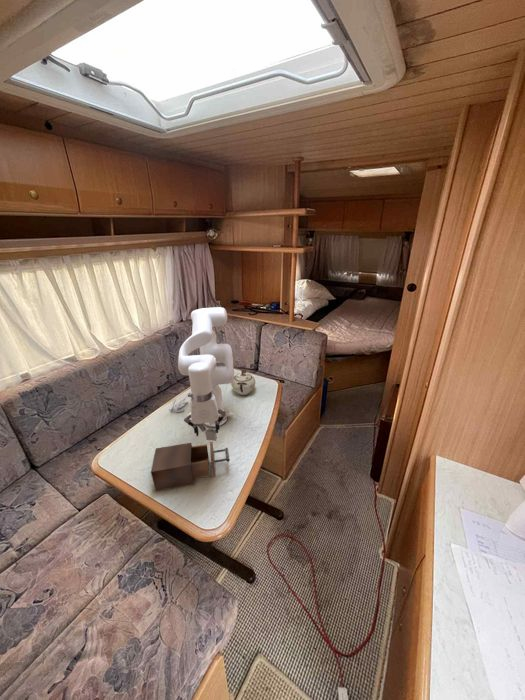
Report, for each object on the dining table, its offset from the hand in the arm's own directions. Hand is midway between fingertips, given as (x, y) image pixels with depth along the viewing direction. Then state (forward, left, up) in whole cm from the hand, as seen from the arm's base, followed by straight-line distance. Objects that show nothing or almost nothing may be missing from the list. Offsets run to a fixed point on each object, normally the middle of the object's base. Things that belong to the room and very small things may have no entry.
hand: (207, 432), depth 109 cm
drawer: (+2, 0, -18) cm, 19 cm away
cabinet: (+15, 0, -19) cm, 24 cm away
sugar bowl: (-22, -57, -19) cm, 64 cm away
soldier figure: (+17, -48, -19) cm, 54 cm away
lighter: (0, 0, -3) cm, 3 cm away
